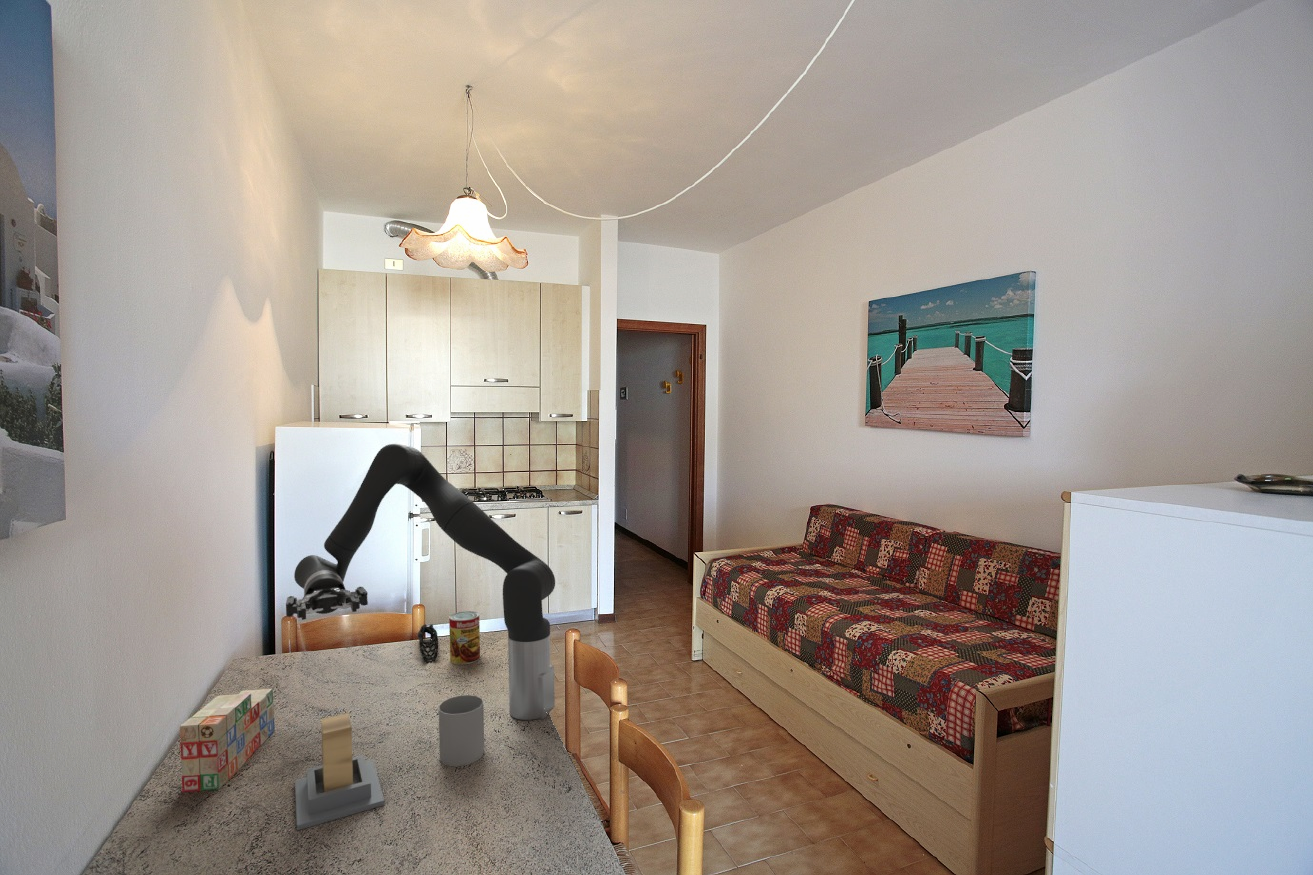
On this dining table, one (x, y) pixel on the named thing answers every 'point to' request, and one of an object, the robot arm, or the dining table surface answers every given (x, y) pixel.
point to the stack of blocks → (224, 737)
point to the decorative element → (434, 638)
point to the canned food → (464, 637)
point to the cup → (461, 730)
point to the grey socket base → (336, 795)
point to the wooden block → (337, 752)
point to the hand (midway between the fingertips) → (329, 610)
